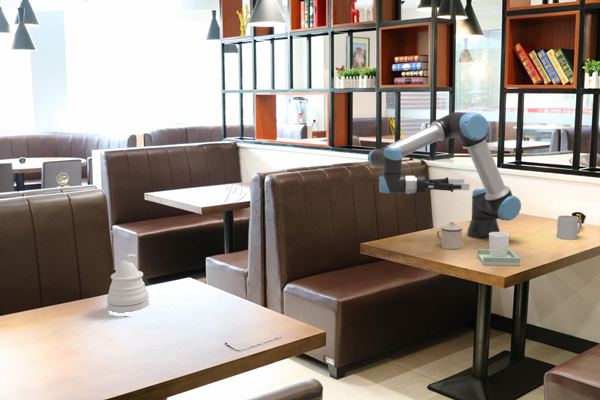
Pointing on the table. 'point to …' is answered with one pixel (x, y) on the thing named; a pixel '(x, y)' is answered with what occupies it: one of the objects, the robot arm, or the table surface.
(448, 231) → the teacup with lid
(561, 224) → the mug
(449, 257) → the table surface
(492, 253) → the white cup
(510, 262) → the green tray
